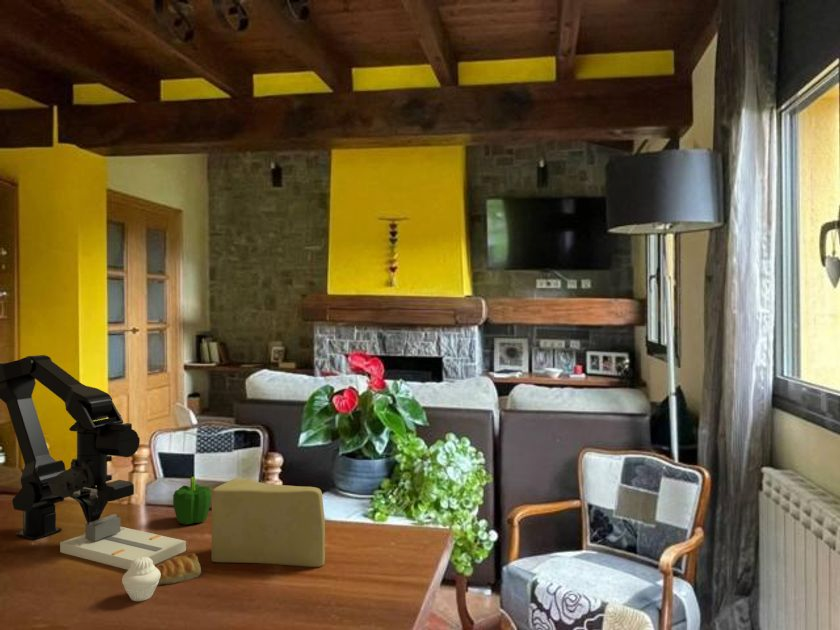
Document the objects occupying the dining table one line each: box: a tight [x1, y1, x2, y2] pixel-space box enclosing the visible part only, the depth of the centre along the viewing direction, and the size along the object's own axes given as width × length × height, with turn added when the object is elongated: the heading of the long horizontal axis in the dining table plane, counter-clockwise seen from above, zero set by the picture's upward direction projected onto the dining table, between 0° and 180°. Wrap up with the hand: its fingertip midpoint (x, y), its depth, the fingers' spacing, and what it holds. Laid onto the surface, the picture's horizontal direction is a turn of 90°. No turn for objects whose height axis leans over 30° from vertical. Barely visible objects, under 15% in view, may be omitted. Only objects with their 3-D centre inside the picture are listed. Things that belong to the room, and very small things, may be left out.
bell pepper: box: [172, 476, 212, 526], centre depth 149 cm, size 8×8×10 cm
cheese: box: [210, 477, 326, 568], centre depth 127 cm, size 22×10×15 cm, turn 76°
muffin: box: [121, 557, 161, 602], centre depth 110 cm, size 6×6×7 cm
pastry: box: [154, 552, 202, 586], centre depth 118 cm, size 9×7×4 cm
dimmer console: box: [59, 526, 187, 571], centre depth 130 cm, size 22×12×2 cm, turn 65°
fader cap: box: [84, 513, 122, 541], centre depth 133 cm, size 3×6×4 cm, turn 155°
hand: (92, 526), depth 134 cm, fingers closed
